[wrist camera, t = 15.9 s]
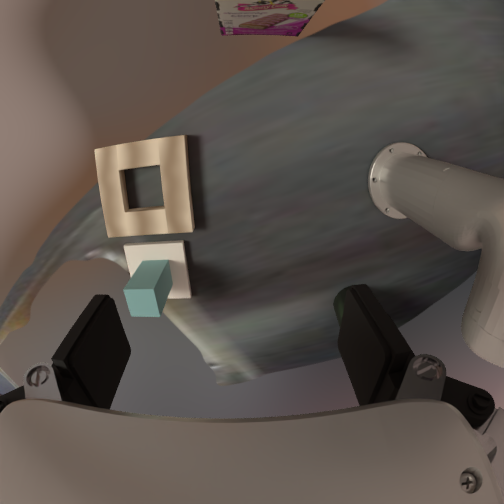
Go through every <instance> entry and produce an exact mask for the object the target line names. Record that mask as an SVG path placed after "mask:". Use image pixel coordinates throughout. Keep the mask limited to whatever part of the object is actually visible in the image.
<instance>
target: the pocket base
mask: <svg viewBox="0 0 504 504" xmlns="http://www.w3.org/2000/svg"><path fill="white" fill-rule="evenodd" d="M95 158H96V167H97V175H98V182H99V189H100V195H101V202H102V207H103V213H104V218H105V224H106V229H107V234H108V237H121V236H135V235H150V234H166V233H183V232H193V230H194V228H195V225H194V215H193V205H192V194H191V183H190V171H189V158H188V144H187V135H181V136H173V137H165V138H157V139H150V140H143V141H137V142H131V143H125V144H119V145H114V146H109V147H104V148H99V149H95ZM152 165H160V169H161V179H162V189H163V197H164V206H155V207H144V208H134V209H129V203H128V196H127V189H126V182H125V173H124V169H130V168H137V167H144V166H152Z"/></svg>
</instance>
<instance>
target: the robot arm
mask: <svg viewBox="0 0 504 504" xmlns="http://www.w3.org/2000/svg"><path fill="white" fill-rule="evenodd" d="M389 150H390V152H389ZM373 178H374V180H373ZM372 180H373V181H372ZM368 188H369V193H370V196H371V198H372V201H373V202H374V204H375V205H376V207H377V208H378V209H379V210H380V211H381V212H383V213H384V214H385V215H387V216H389V217H391V218H396V219H404V218H409V219H411V220H412V221H414V222H416V223H417V224H419V225H420V226H422V227H423V228H425V229H426V230H428V231H429V232H431V233H432V234H433V235H435V236H436V237H438V238H439V239H441V240H442V241H443V242H445V243H447V244H448V245H449V246H451V247H453V248H455V249H457V250H461V251H472V250H477V249H480V248H482V252H481V257H480V261H479V267H478V270H477V274H476V277H475V280H474V284H473V286H472V289H471V292H470V295H469V298H468V301H467V304H466V307H465V310H464V313H463V317H462V323H461V331H462V336H463V338H464V340H465V342H466V344H467V345H468V346H469V348H470V349H471V350H472V351H473V352H474V353H475V354H477V355H478V356H479V357H481V358H483V359H484V360H486V361H488V362H490V363H492V364H495V365H497V366H500V367H502V368H504V179H503V178H498V177H494V176H491V175H487V174H484V173H480V172H477V171H474V170H471V169H467V168H464V167H460V166H457V165H454V164H450V163H446V162H443V161H439V160H435V159H431V158H428V157H427V156H426V155H425V154H424V152H423V151H422V150H420V149H419V148H418V147H416V146H414V145H413V144H409V143H404V142H397V143H392V144H390V145H387V146H386V147H384V148H383V149H382V150H381V151H380V152H379V153H378V154H377V155H376V157H375V158H374V160H373V162H372V164H371V166H370V170H369V175H368ZM385 209H386V210H385ZM338 348H339V351H340V354H341V357H342V359H343V362H344V364H345V367H346V370H347V372H348V375H349V378H350V380H351V383H352V386H353V389H354V391H355V394H356V397H357V399H358V402H359V405H360V406H357V407H352V408H346V409H339V410H332V411H324V412H317V413H309V414H300V415H291V416H278V417H263V418H237V419H236V418H235V419H208V418H183V417H182V418H181V417H167V416H156V415H145V414H137V413H129V412H122V411H115V410H110V407H111V404H112V401H113V398H114V396H115V393H116V390H117V388H118V385H119V383H120V380H121V377H122V375H123V372H124V370H125V367H126V365H127V362H128V360H129V357H130V354H131V349H130V345H129V342H128V340H127V337H126V334H125V331H124V329H123V326H122V323H121V320H120V317H119V314H118V311H117V308H116V305H115V302H114V300H113V299H112V298H110V296H109V295H95V296H94V297H93V299H92V300H91V301H90V303H89V304H88V305H87V307H86V308H85V310H84V311H83V312H82V314H81V315H80V316H79V318H78V319H77V321H76V322H75V324H74V325H73V327H72V328H71V329H70V331H69V332H68V334H67V335H66V337H65V338H64V340H63V341H62V343H61V344H60V346H59V347H58V349H57V351H56V352H55V354H54V355H53V357H52V358H51V359H52V361H53V364H52V366H51V365H50V364H47V363H38V364H35V365H33V366H32V367H30V368H29V369H28V370H27V371H26V373H25V375H24V379H23V383H24V385H23V386H21V387H19V388H17V389H15V390H13V391H11V392H9V393H6V394H4V395H2V396H0V504H504V409H502V408H501V407H499V408H498V409H496V408H495V404H494V400H493V398H492V396H491V395H490V394H489V393H488V392H487V391H485V390H483V389H481V388H477V387H475V386H472V385H469V384H466V383H463V382H461V381H458V380H456V379H453V378H450V377H447V376H446V368H445V365H444V364H443V362H442V361H441V360H439V359H438V358H437V357H435V356H432V355H428V354H420V355H418V356H415V355H414V353H413V351H412V350H411V348H410V347H409V345H408V344H407V342H406V340H405V339H404V337H403V336H402V335H401V333H400V331H399V330H398V328H397V327H396V325H395V324H394V322H393V321H392V319H391V318H390V316H389V315H388V314H386V312H385V311H384V309H383V308H382V306H381V305H380V303H379V302H378V300H377V299H376V297H375V296H374V295H373V293H372V292H371V290H370V289H369V287H368V286H367V285H366V284H361V285H352V286H351V288H350V289H348V290H347V291H346V297H345V303H344V310H343V316H342V321H341V327H340V332H339V338H338Z"/></svg>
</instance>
